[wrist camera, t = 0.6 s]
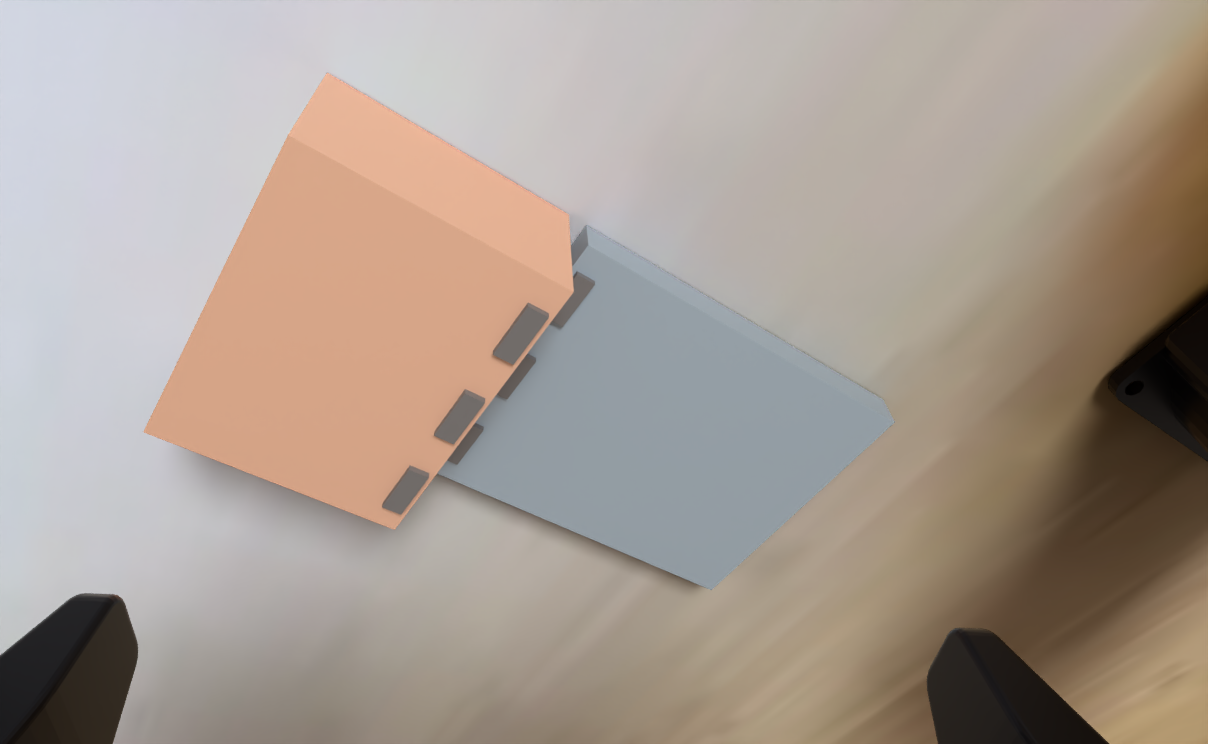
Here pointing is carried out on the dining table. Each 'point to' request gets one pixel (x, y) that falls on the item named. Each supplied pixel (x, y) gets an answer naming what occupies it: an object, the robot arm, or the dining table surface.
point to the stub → (365, 311)
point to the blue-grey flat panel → (663, 421)
